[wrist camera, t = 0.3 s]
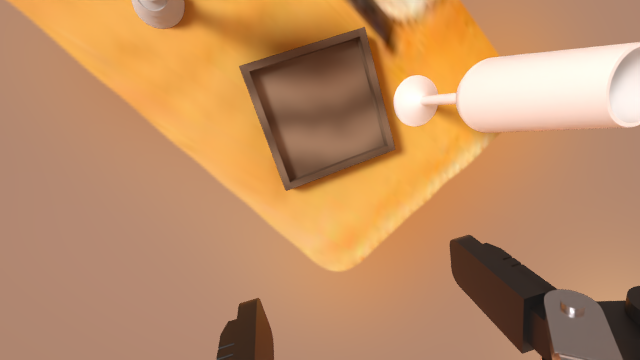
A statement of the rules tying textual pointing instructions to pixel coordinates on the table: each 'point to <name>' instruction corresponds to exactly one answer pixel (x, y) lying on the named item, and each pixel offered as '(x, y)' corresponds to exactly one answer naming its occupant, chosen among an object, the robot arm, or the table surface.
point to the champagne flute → (537, 91)
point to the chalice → (160, 12)
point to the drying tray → (320, 107)
